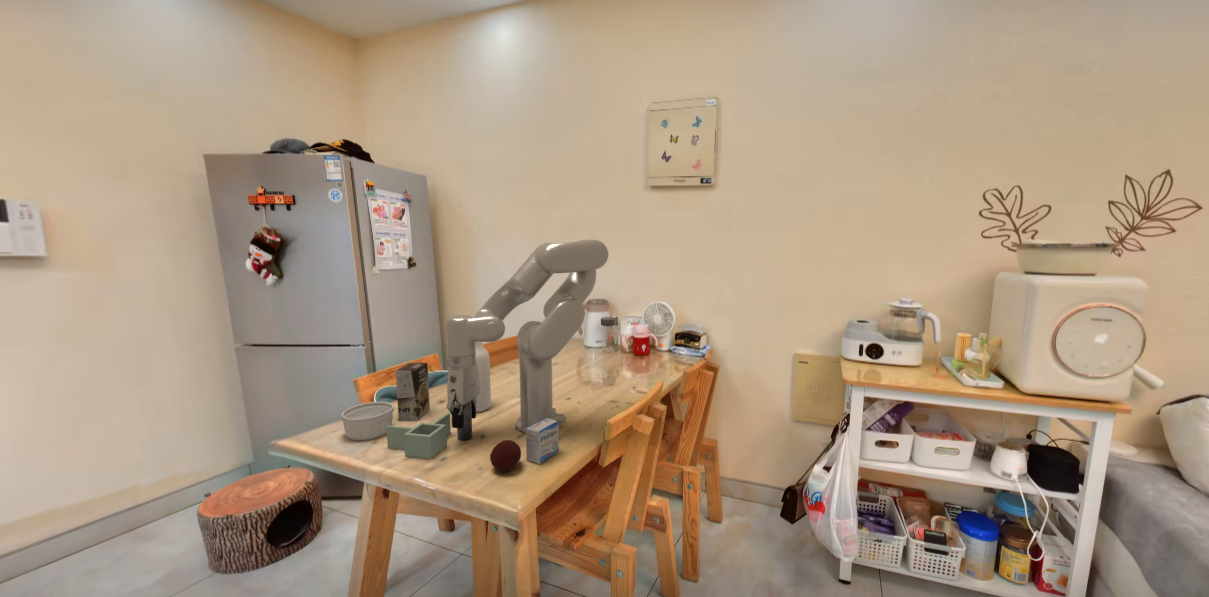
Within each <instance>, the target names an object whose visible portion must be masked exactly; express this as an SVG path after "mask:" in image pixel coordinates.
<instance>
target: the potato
mask: <svg viewBox="0 0 1209 597" xmlns="http://www.w3.org/2000/svg"><path fill="white" fill-rule="evenodd" d="M521 457H522V450H521V447H520V445H519V444H518V443H517V442H516V441H514V440H512V439H506V440H502V441H500V442H498V443H496V445H495V446H494V447H493V448H492V449H491V452H490V455H489V460H490V463H491V465H492V466H493V468H495V469H496V470H497V471H498V472H501V473H506V472H509V471H511V470H513V469H514V468H515V467H516V466H517V465H518V464H519V461H520V460H521Z"/></svg>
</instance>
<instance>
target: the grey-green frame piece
mask: <svg viewBox="0 0 1209 597" xmlns="http://www.w3.org/2000/svg"><path fill="white" fill-rule="evenodd" d="M386 428H387V433H386V440H387V443H386V444H387V449H394V450H404V457H405V456H407V457H406V458H417V459H424V458H426V460H433V458H435V457H436V456H437V455H438V454H439V453H440V452H442V451H443V450H444V449H445V448H447V446H448V440H447V437H448V436H449V435H450V434H451V433H452V432H451V431H452V429H451V428H452V426H451V414H450V412H447V413H445V414H444V415H442V416H441V417H440V418H438V419H437V420H435V421H434V422H432V423H431V422H430V423H428V422H420V423H419V424H417V425H415V426H414V427H413V426H412V427H411V426H409V427H408V426H401V425H400V426H399V425H392V426H389V425H388V426H387V427H386Z"/></svg>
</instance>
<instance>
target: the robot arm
mask: <svg viewBox="0 0 1209 597" xmlns="http://www.w3.org/2000/svg"><path fill="white" fill-rule="evenodd" d="M608 260H609V249H608V247H607V246H606V245H605V243H604V242H602V241H600V240H597V239H580V240H577V241H568V242H544V243H542V244H540V245H539V246H537V248H535V249H534V250H533V252H532V253H531V254H530V255H529V256H528V258H527V259H526V260H525V261H524V262H523V263H522V264H521V266H520V267H519V268H518V269H517V270H516V272H515V273H513V275H512V276H511V277H510V278H509V279H508V280H507V281H505V283H504V284H502V285H501V286H500V288H498V289H497V290H496V291H495V292H494V293H493V294H492V295H491V296H490V297H489V298H488V299H487V300H486V302H484V304H483V305H482V306H481V307H480V308H479V310H478V311H477V312H476V314H475V315H474V317H473V316H471V315H468V314H467V315H466V314H458V315H457V314H456V315H452V316H448V317H447V318H446V320H445V337H446V358H447V360H446V361H447V370H448V371H447V382H446V385H447V386H446V389H447V392H446V393H447V403H446V406H445V407H446V409H447V410H448V412H449V413H450V416H451V428H453V429H457V428H461V429H462V428H463V427H464V418H463V414H462V408H463V405H465V404H467V403H468V402H470V401H471V411H472V420H473V419H476V418H477V413H476V405H474V404H476V396H478V395H479V393H480V384H479V374H478V368H477V363H476V343H475V341H477V342H482V343H494V342H497V341H499V340H500V339H502V337H503V336H504V335H505V332H506V326H505V325H506V324H505V323H504V320H505V318H507V316H508V315H510V313H511V312H512V311H513V310H514V309H515V308H517V307H518V306H520V305H522V304H525V303H527V302H529V301H530V300H532V299H533V298H534V297H535V296H536V295H537V294H538V293H539V292H540V290H541V289H542V288H543V287H544V285H545V284H546V283H547V282H548V281H549V279H551V278H552V276H553V275H554V274H568V276H567V277H566V278H565V280H564V281H563V282H562V284H560V286H559V287H558V288H557V290H556V291H554V293H553V294H552V295H551V296H550V297H549V298H548V300H547V301H546V302H545V303H544V305H543V315H544V319H543V321H539V320H529V321H527V322H526V323H524V324H523V325H521V327H520V328H519V329H518V333H517V338H516V342H517V343H516V344H517V352H518V361H519V362H518V363H519V397H520V402H519V403H520V417H519V418H518V419H517V420H516V421H515V428H516V430H518V431H520V432H522V433H525V434H526V428H528V427H530V426H532V425H534V424H536V423H537V422H539V421H541V420H543V419H545V418H548V419H552V420H556V421H558V424H559V423H561V424H566V421H567V416H565V413H557V412H556V408H555V407H553V363H552V360H553V358H554V357H556V356H557V355H558V354H559V353H560V352H561V351H562V350H563V348H565V346H566V345H567V344H568V343H569V341H571V339H572V338H573V336H574V335H576V333H577V332H578V331H579V329H580V328H581V326H582V325H583V322H584V320H585V317H586V312H585V306H584V302H585V301H586V300H587V299H588V297H589V296H590V295H591V293H592V291H593V290H594V288H595V285H596V281H597V270H598V269H601V268H602V267H604V266H605V264H606V263H607V262H608ZM456 400H457V401H458V402H459V403H456ZM456 405H459V409H457V407H456Z"/></svg>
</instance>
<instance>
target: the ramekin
mask: <svg viewBox="0 0 1209 597" xmlns="http://www.w3.org/2000/svg"><path fill="white" fill-rule="evenodd" d="M394 410H395V409H394V404H393V403H391V402H387V401H371V402H365V403H360V404H357V405H353V406H351V407H349V408H347V409H345V410H343V412H342V413H341V418H340V419H341V421H342V422H343V423H342V424H343V428H344V432H345V435H346V437H347V438H349V439H350V440H353V441H359V440H361V441H368V440H369V441H370V440H373V439H377V438H380V437H382V436H384V435H387V428H386V427H387V426H388V425H389V426H393V416H394Z"/></svg>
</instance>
